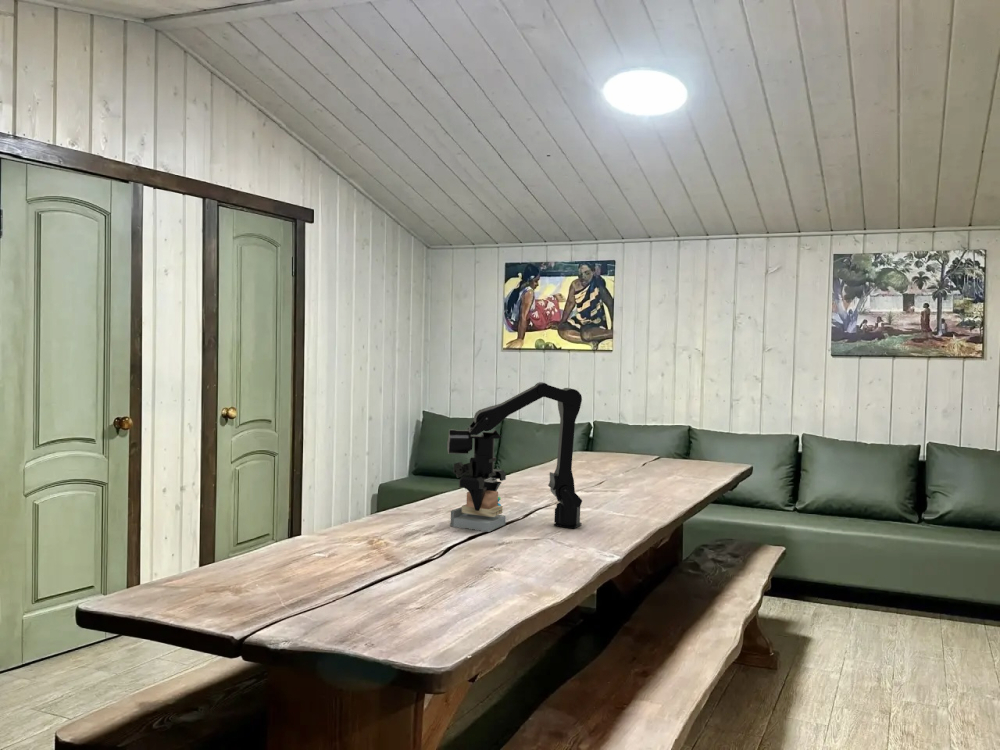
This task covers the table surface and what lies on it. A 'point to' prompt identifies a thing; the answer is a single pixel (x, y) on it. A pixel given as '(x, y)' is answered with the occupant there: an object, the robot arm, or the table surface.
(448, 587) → the table surface
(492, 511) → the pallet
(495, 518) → the dock
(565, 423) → the robot arm
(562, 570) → the table surface
